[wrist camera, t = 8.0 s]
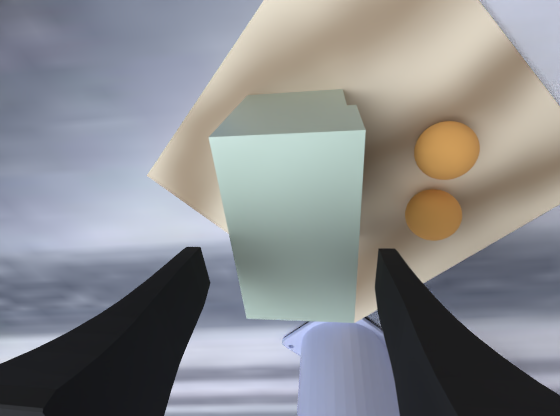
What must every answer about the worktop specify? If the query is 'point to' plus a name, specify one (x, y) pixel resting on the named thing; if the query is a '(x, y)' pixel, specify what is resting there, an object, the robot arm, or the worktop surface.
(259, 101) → the sage container
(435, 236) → the marble
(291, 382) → the worktop surface
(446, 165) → the marble
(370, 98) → the birch board
